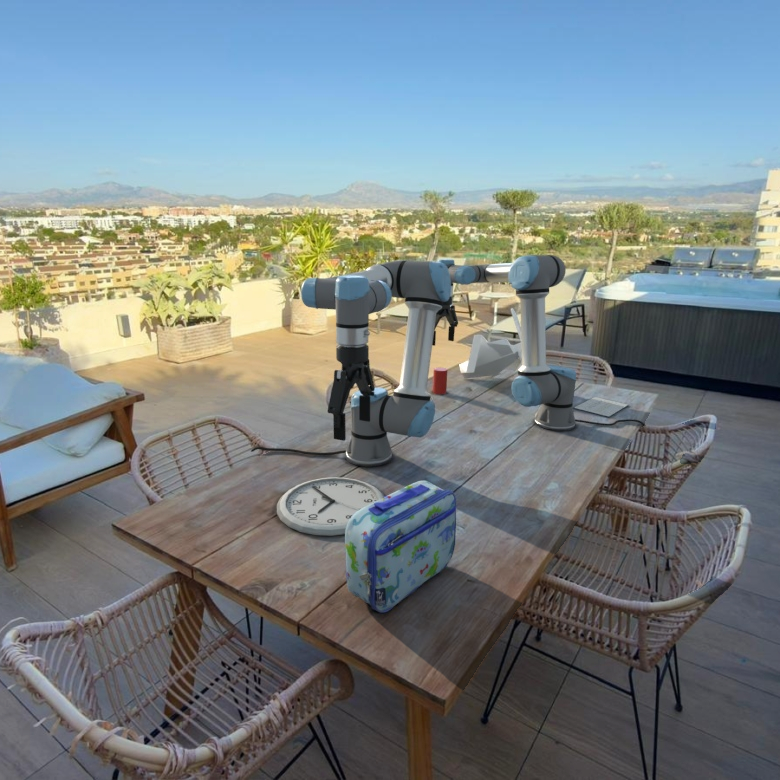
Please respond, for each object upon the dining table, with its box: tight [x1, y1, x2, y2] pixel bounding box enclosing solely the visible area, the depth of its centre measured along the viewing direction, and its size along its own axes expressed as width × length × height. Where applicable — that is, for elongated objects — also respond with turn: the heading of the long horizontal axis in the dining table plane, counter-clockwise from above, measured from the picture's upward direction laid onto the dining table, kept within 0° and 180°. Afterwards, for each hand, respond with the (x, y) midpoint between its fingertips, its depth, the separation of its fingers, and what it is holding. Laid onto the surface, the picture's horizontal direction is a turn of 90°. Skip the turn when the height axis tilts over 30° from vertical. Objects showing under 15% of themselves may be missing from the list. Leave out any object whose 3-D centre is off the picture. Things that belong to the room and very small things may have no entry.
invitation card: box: [573, 396, 629, 418], centre depth 226 cm, size 21×1×15 cm
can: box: [432, 367, 448, 396], centre depth 241 cm, size 6×6×11 cm
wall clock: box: [276, 476, 386, 537], centre depth 142 cm, size 30×2×30 cm
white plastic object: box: [458, 307, 522, 379], centre depth 256 cm, size 37×45×31 cm
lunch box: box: [344, 480, 457, 614], centre depth 109 cm, size 26×11×21 cm, turn 135°
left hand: (352, 429), depth 127 cm, fingers open, 13 cm apart
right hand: (441, 342), depth 235 cm, fingers open, 13 cm apart
